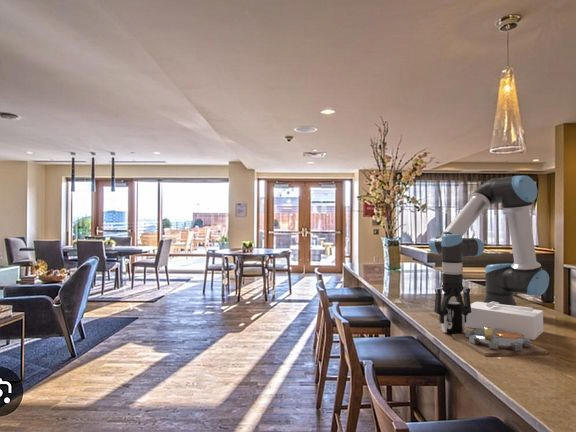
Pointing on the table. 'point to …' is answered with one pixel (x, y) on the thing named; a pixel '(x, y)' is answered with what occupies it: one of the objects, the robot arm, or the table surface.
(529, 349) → the board
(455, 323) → the beverage can
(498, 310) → the tissue box
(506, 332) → the sprocket
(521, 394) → the table surface
